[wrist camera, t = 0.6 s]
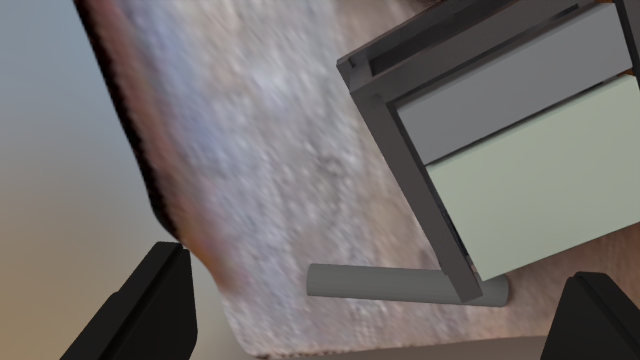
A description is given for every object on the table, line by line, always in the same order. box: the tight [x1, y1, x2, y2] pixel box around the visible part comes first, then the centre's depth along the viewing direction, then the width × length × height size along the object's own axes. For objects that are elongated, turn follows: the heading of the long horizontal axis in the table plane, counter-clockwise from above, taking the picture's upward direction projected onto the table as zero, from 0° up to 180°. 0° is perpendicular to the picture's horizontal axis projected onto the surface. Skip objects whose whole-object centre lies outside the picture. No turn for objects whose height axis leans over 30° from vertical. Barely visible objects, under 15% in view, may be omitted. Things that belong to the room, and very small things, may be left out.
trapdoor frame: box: [336, 0, 640, 304], centre depth 30 cm, size 17×19×11 cm
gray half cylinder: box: [307, 264, 509, 307], centre depth 42 cm, size 4×20×2 cm, turn 89°
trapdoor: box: [395, 2, 640, 281], centre depth 26 cm, size 12×13×2 cm
